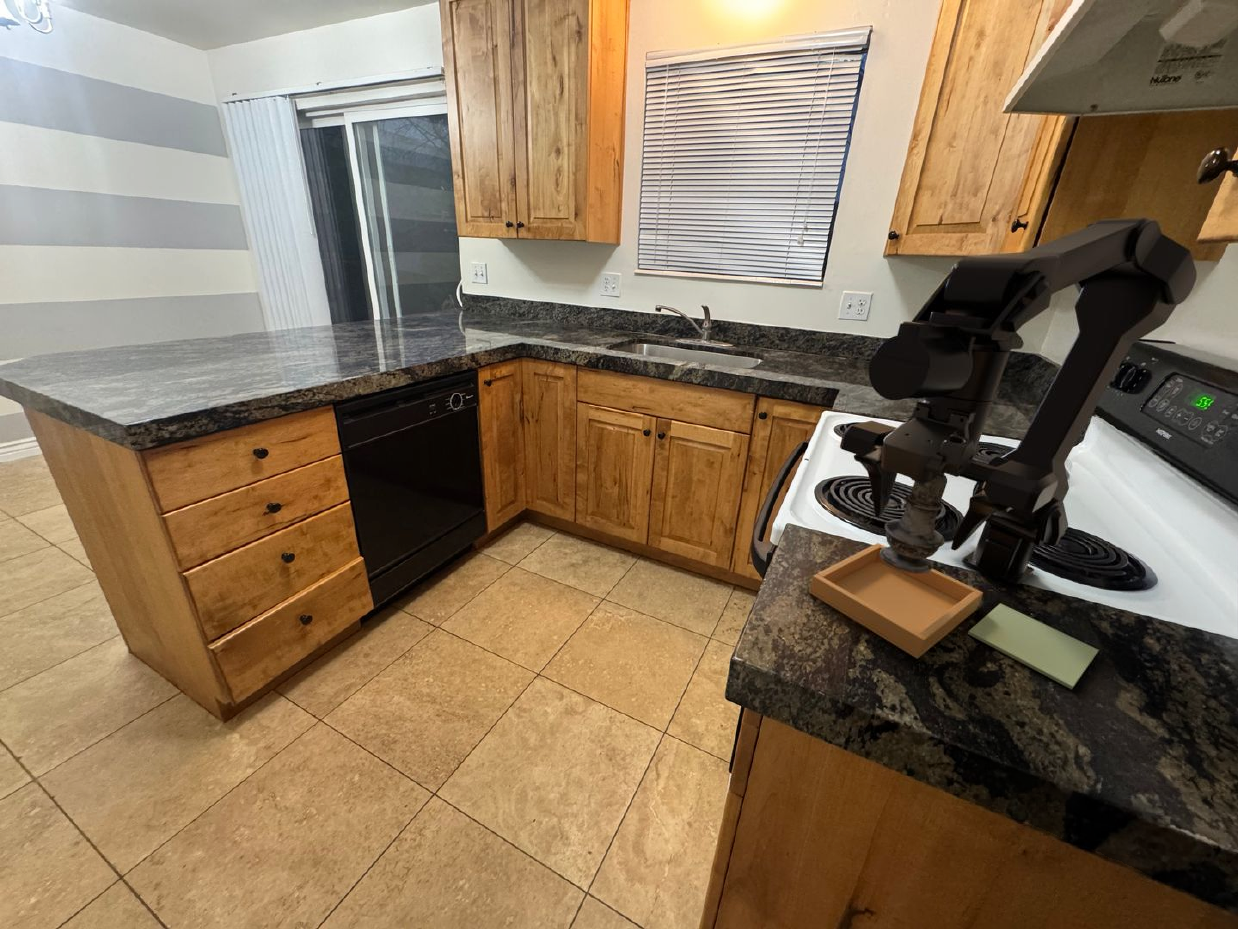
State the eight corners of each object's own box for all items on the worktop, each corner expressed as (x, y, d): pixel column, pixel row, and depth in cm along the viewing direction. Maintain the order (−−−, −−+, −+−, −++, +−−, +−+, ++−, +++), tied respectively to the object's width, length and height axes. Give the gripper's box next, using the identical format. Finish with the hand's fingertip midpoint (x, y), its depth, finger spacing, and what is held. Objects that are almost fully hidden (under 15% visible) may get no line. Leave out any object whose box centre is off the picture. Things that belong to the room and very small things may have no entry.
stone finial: (947, 573, 54) (984, 472, 50) (901, 577, 53) (934, 474, 48) (908, 545, 60) (938, 451, 55) (865, 547, 58) (892, 452, 54)
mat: (999, 606, 59) (1000, 603, 59) (1097, 653, 52) (1099, 650, 52) (967, 633, 54) (968, 631, 54) (1071, 690, 47) (1073, 686, 47)
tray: (873, 557, 67) (877, 542, 66) (976, 609, 58) (983, 592, 57) (808, 592, 59) (812, 575, 58) (917, 659, 50) (924, 640, 49)
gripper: (827, 380, 51) (798, 514, 57) (1047, 433, 38) (978, 601, 44) (882, 372, 58) (851, 493, 64) (1088, 415, 44) (1024, 564, 50)
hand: (914, 531), depth 55 cm, fingers closed on stone finial, 8 cm apart
